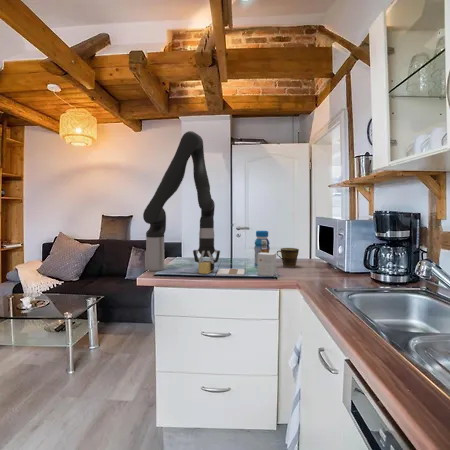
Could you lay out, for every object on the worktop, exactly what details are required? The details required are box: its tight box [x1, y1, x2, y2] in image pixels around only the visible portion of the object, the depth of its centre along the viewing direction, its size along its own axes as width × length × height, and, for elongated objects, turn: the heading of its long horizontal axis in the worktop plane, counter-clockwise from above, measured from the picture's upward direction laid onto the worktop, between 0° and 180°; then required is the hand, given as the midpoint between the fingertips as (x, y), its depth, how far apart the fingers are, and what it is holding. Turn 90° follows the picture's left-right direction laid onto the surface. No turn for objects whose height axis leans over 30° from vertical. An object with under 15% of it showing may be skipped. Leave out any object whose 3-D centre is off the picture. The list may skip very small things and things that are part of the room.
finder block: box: [198, 259, 214, 275], centre depth 152 cm, size 5×9×5 cm, turn 162°
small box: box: [257, 252, 277, 277], centre depth 146 cm, size 8×6×10 cm
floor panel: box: [216, 268, 246, 277], centre depth 150 cm, size 13×12×1 cm
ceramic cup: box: [276, 247, 300, 269], centre depth 167 cm, size 13×10×10 cm
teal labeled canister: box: [253, 230, 271, 269], centre depth 166 cm, size 8×8×20 cm
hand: (206, 270), depth 152 cm, fingers closed on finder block, 5 cm apart
